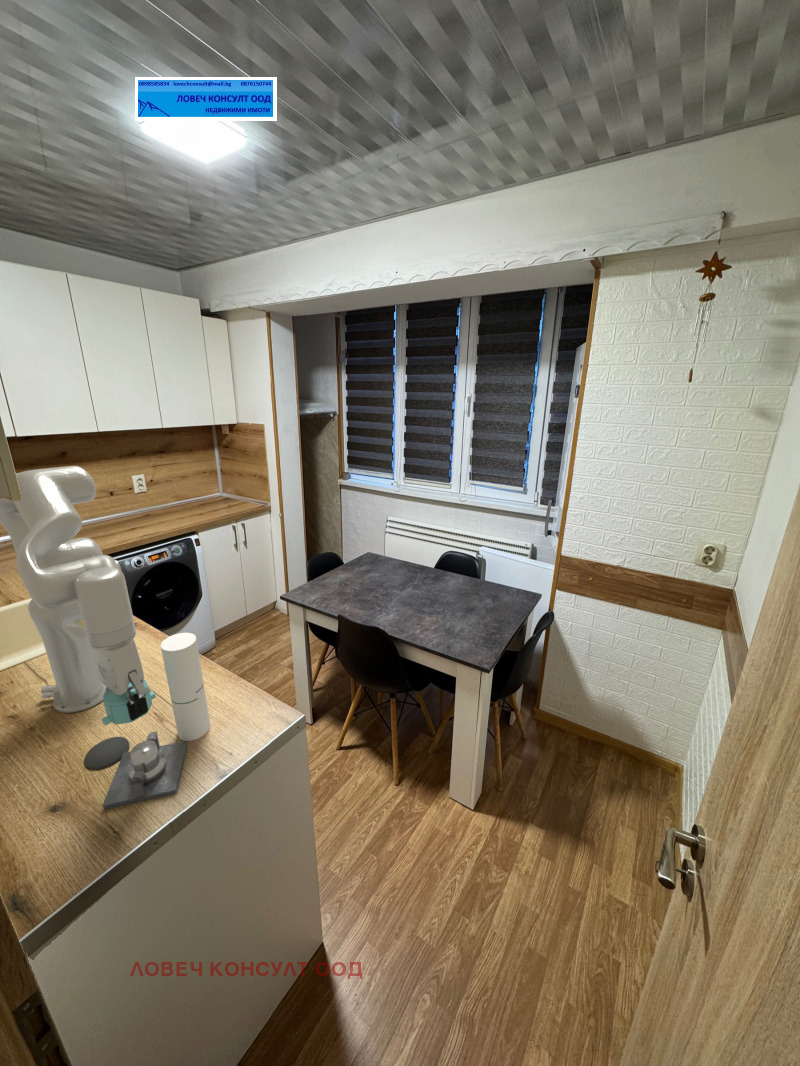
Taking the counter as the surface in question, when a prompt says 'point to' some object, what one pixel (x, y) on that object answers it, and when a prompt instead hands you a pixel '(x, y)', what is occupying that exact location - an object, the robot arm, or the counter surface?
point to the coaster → (106, 753)
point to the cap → (121, 706)
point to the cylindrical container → (186, 685)
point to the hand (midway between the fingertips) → (129, 706)
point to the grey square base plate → (147, 772)
